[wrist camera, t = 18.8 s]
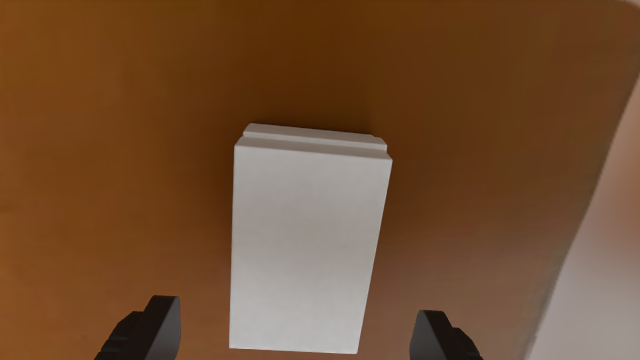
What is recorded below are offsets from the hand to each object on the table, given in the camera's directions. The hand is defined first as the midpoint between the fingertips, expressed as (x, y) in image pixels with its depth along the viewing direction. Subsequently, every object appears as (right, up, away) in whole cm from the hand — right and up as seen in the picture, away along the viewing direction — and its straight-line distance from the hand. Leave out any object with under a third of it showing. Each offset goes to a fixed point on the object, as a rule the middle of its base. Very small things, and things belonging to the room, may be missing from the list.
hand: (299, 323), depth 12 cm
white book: (0, +2, +5) cm, 5 cm away
